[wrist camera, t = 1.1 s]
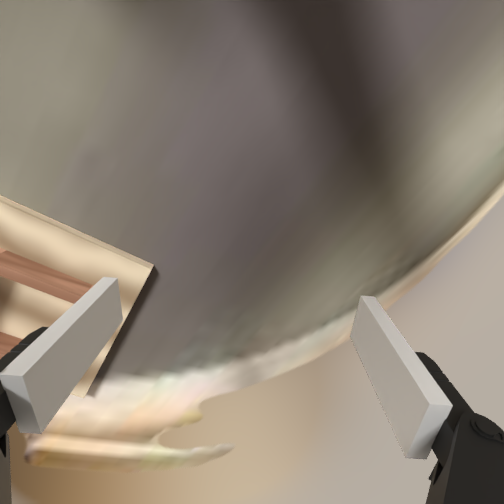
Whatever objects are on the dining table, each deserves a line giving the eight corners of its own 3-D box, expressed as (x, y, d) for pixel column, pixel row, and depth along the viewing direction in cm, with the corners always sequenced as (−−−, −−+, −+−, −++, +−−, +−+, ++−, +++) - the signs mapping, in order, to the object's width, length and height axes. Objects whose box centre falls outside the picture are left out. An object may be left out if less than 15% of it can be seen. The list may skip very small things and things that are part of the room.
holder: (-23, 184, 30) (-60, 190, 26) (153, 264, 36) (146, 279, 32) (-75, 341, 35) (-114, 366, 31) (88, 389, 41) (74, 416, 37)
